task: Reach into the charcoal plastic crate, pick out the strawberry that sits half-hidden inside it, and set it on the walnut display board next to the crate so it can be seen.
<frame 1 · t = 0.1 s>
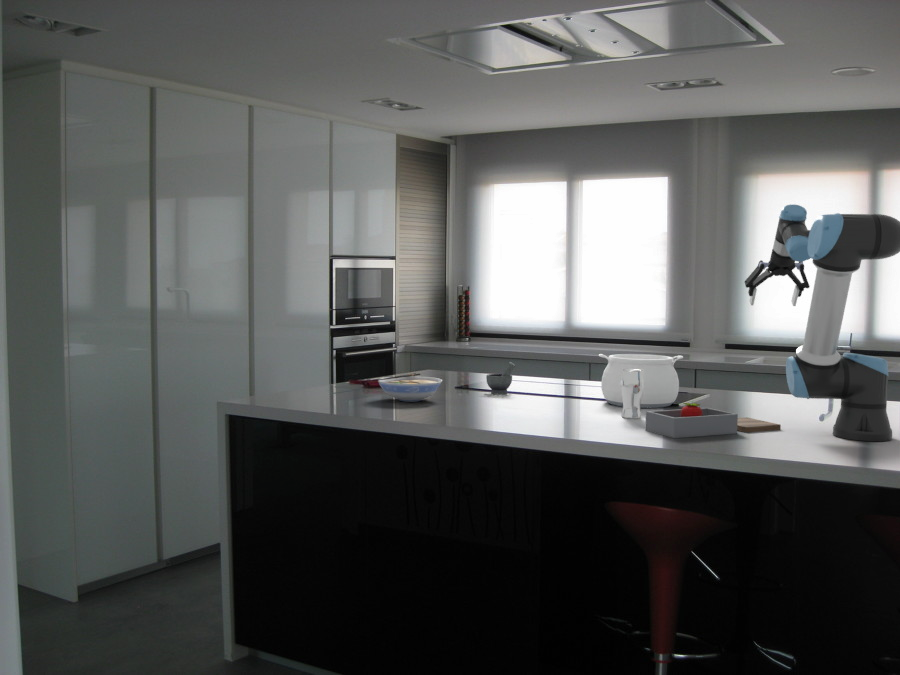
hand: (772, 303, 295), 36 cm above the counter, tool tilted 35°, fingers open, 13 cm apart
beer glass: (631, 417, 279), on the counter
ramen bowl: (410, 401, 310), on the counter
crate: (691, 431, 254), on the counter
display board: (746, 427, 263), on the counter
pot: (639, 404, 309), on the counter
strawberry: (690, 432, 254), resting in crate
mortar and pestle: (500, 394, 332), on the counter
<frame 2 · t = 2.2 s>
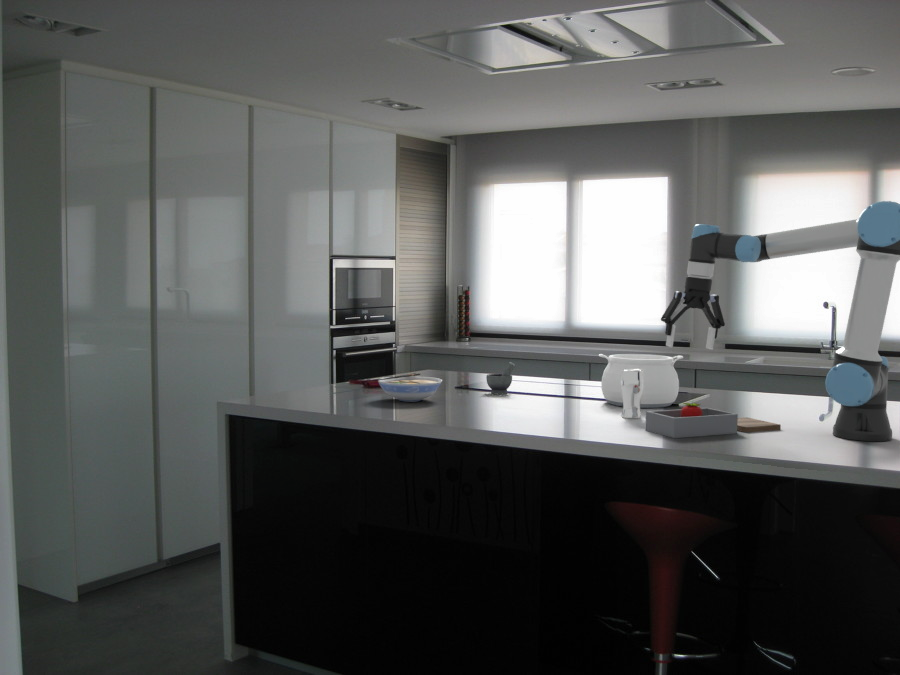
hand: (689, 347, 264), 23 cm above the counter, tool pointing down, fingers open, 13 cm apart
nothing on the counter moved.
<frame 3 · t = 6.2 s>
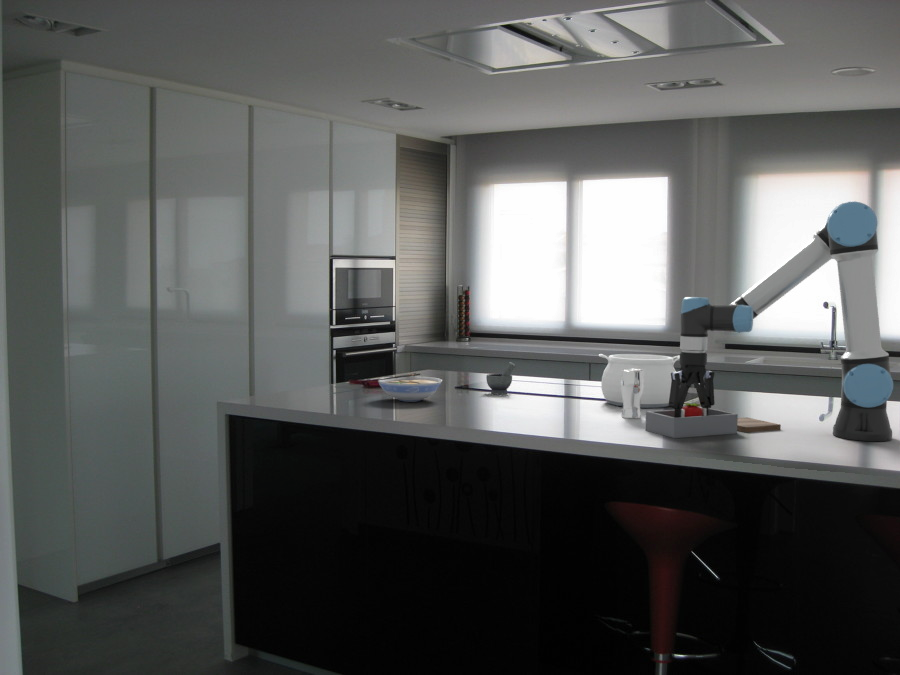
hand: (690, 430, 254), 0 cm above the counter, tool pointing down, fingers closed on strawberry, 7 cm apart
strawberry: (690, 432, 254), resting in crate, touching gripper
everything else where it was.
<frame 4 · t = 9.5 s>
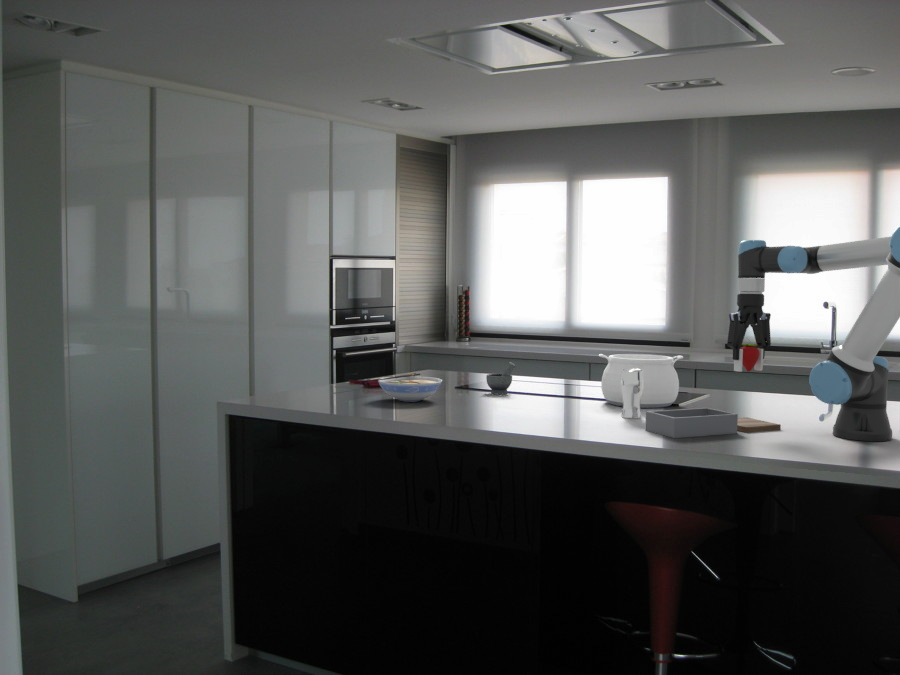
hand: (748, 370, 262), 17 cm above the counter, tool pointing down, fingers closed on strawberry, 7 cm apart
strawberry: (748, 372, 262), point 16 cm above the counter, touching gripper
everything else where it was.
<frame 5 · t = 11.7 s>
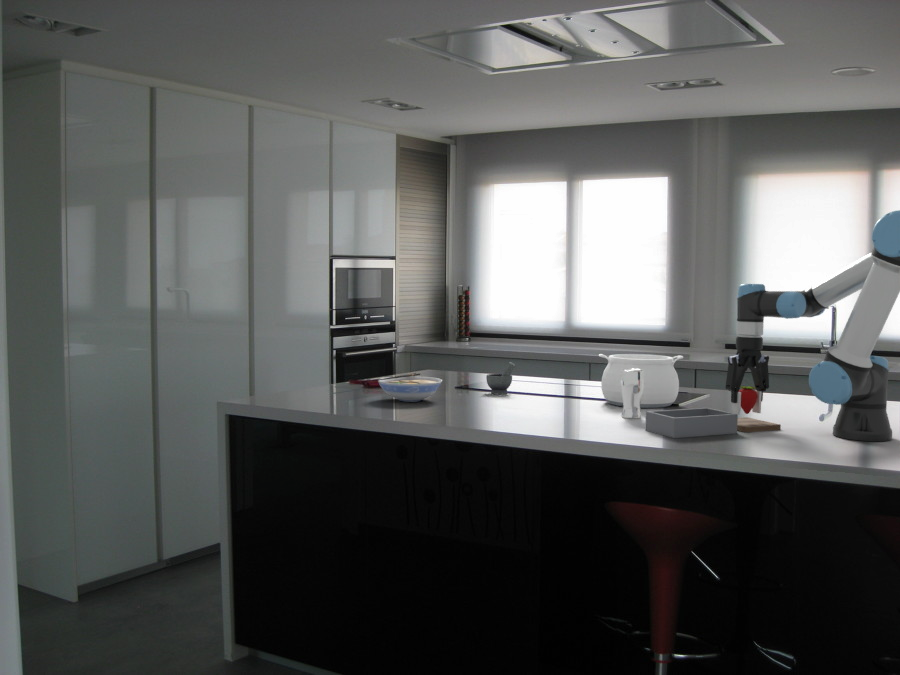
hand: (746, 413, 263), 4 cm above the counter, tool pointing down, fingers closed on strawberry, 7 cm apart
strawberry: (746, 414, 263), point 4 cm above the counter, touching gripper
everything else where it was.
when the fingers open (3 cm above the counter, at t = 12.9 s): strawberry stays where it is, resting on display board.
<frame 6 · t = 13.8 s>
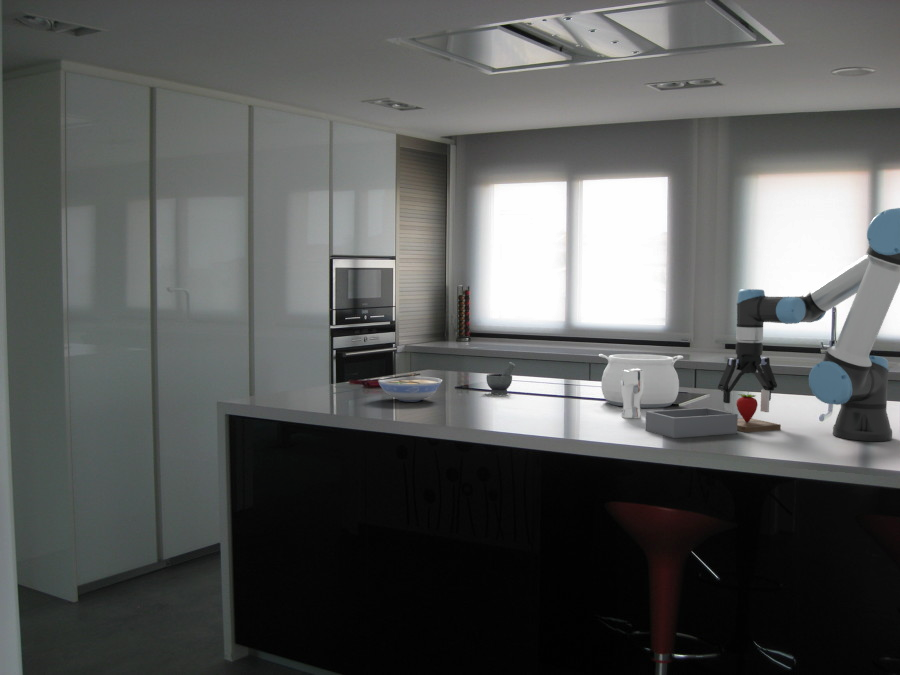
hand: (746, 413, 263), 4 cm above the counter, tool pointing down, fingers open, 13 cm apart
strawberry: (746, 422, 263), point 1 cm above the counter, touching display board
everything else where it was.
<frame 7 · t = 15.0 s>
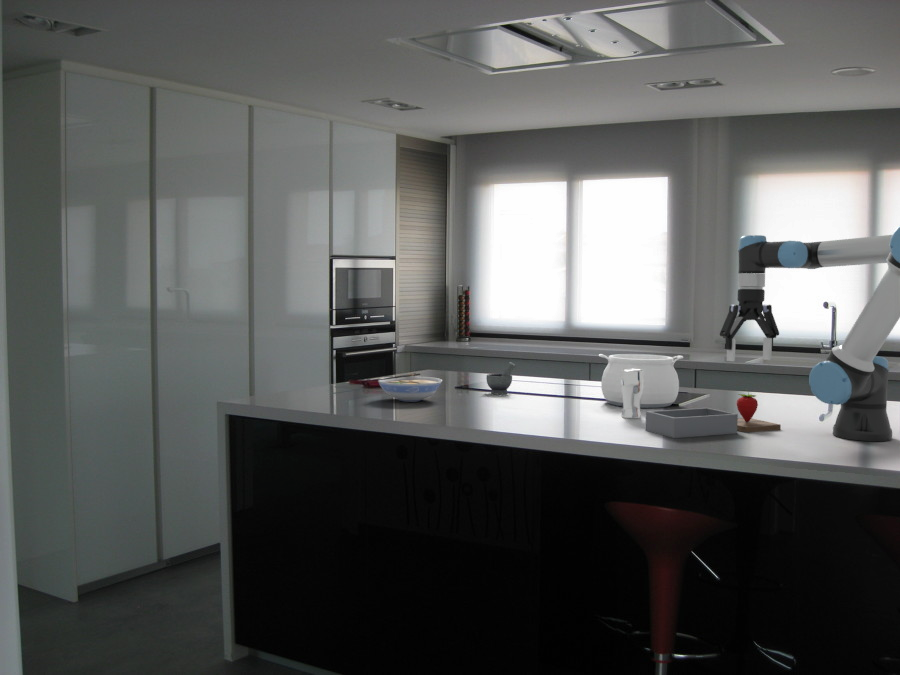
hand: (749, 360, 261), 20 cm above the counter, tool pointing down, fingers open, 13 cm apart
nothing on the counter moved.
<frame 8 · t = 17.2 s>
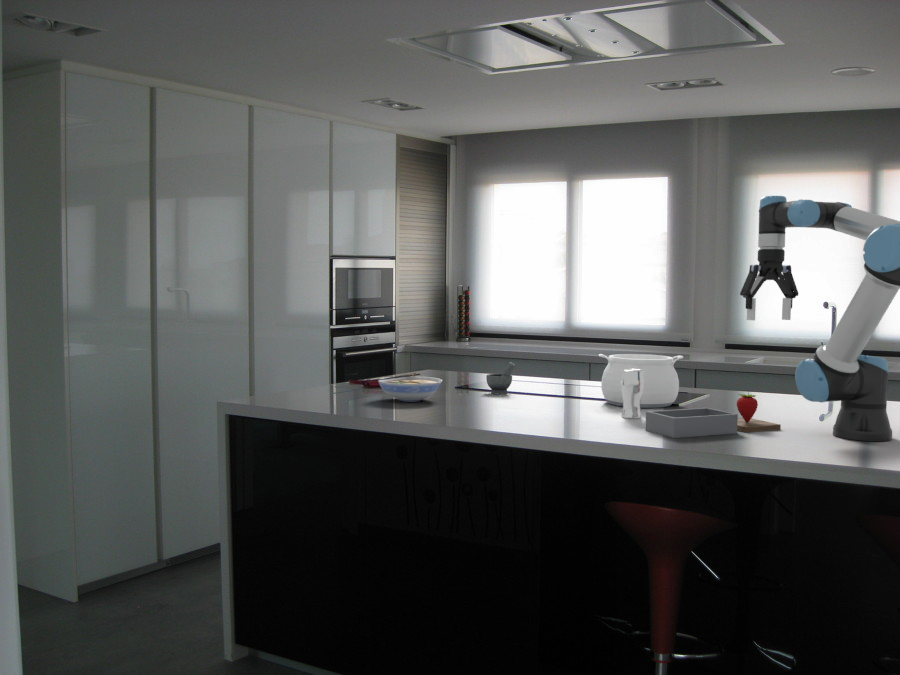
hand: (768, 320, 265), 32 cm above the counter, tool pointing down, fingers open, 13 cm apart
nothing on the counter moved.
at the end: strawberry inside the target area on the display board (0.1 cm from its centre), point 1.3 cm above the display board's base; the gripper is holding nothing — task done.
